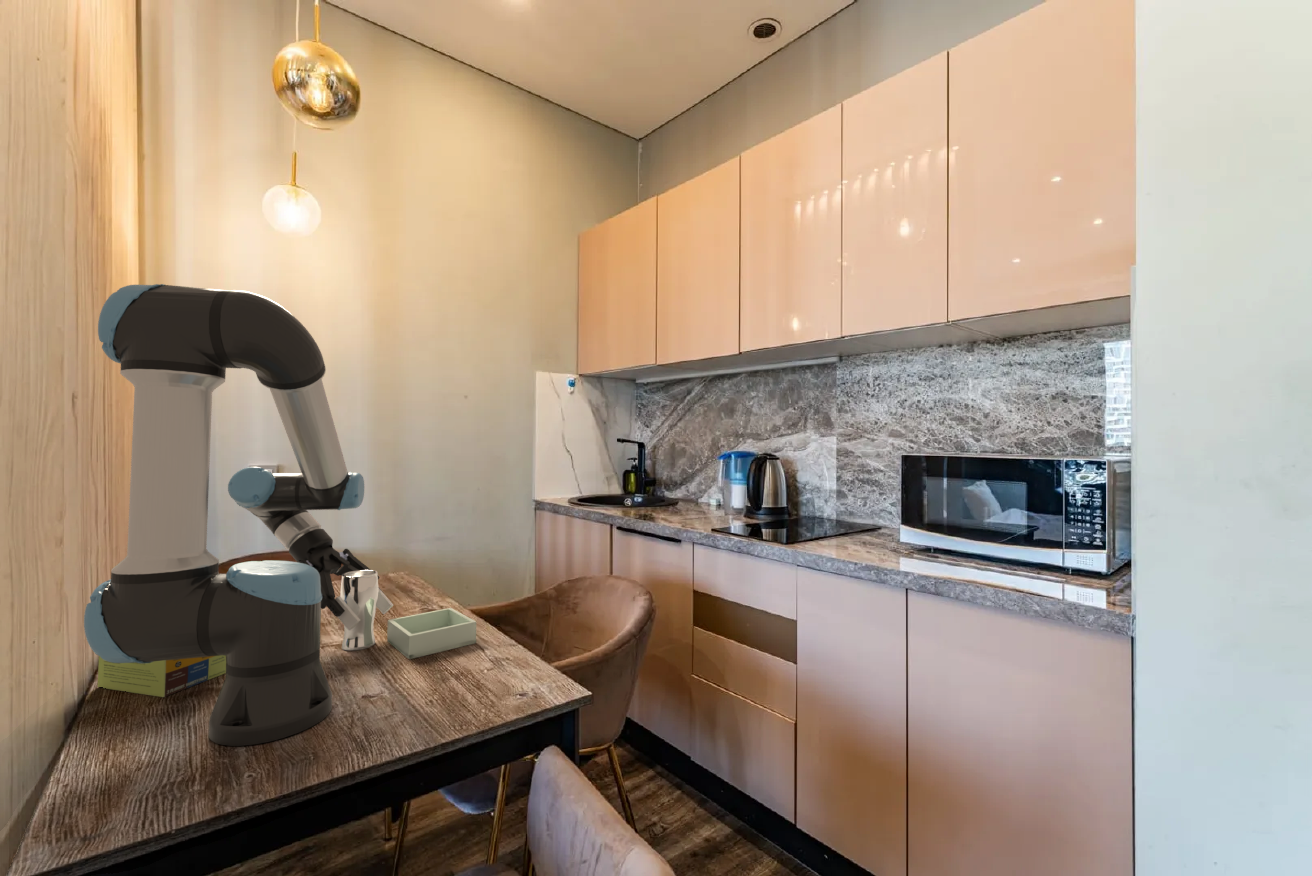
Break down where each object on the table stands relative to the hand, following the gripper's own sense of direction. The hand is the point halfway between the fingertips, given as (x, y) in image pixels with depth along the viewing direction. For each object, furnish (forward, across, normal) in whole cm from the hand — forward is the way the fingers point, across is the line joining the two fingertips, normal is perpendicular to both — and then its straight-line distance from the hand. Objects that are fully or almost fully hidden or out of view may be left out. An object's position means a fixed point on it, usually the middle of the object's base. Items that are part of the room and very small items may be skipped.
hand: (372, 617), depth 113 cm
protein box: (-13, +20, -22) cm, 33 cm away
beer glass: (+2, 0, -6) cm, 7 cm away
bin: (+12, -4, +3) cm, 13 cm away
